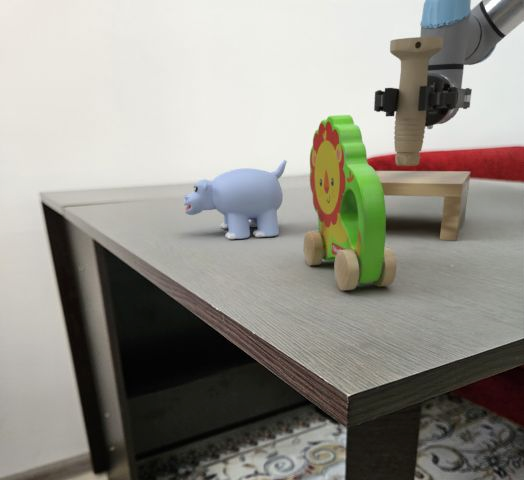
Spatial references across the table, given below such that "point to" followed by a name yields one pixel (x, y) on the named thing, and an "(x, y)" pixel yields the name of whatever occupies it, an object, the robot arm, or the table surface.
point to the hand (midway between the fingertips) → (404, 99)
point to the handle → (411, 95)
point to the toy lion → (347, 208)
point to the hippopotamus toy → (241, 200)
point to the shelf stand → (433, 193)
